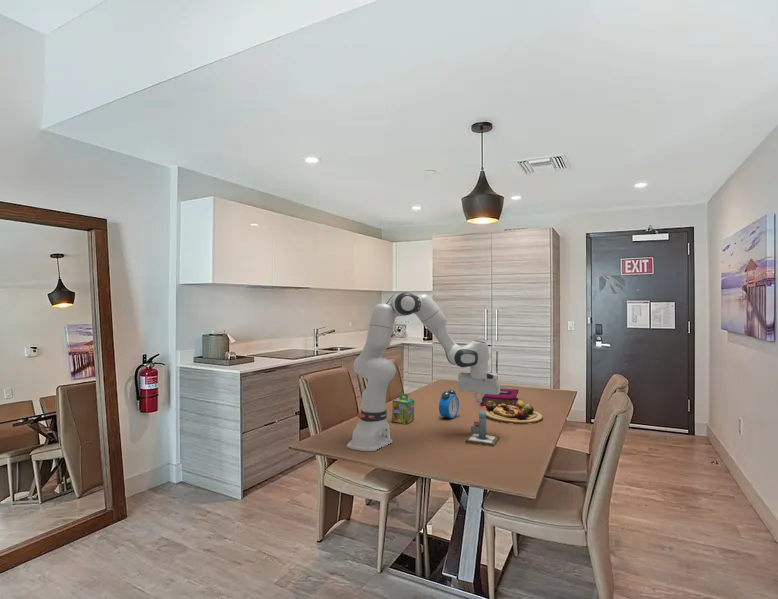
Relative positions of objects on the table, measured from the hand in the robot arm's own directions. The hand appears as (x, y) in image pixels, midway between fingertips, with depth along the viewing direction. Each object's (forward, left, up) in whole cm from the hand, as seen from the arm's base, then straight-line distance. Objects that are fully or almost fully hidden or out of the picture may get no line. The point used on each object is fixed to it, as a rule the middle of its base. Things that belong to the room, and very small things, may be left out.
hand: (478, 402), depth 227 cm
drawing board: (-10, -4, -16) cm, 19 cm away
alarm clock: (+24, +22, -16) cm, 36 cm away
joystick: (-10, -4, -14) cm, 18 cm away
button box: (0, 0, -16) cm, 16 cm away
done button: (0, 0, -13) cm, 13 cm away
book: (+73, +3, -16) cm, 75 cm away
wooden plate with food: (+41, -10, -16) cm, 45 cm away
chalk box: (+6, +42, -16) cm, 45 cm away
